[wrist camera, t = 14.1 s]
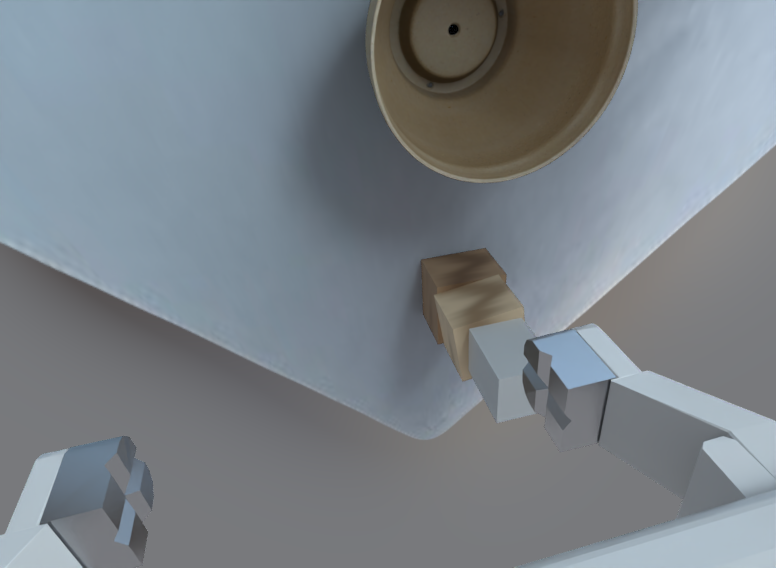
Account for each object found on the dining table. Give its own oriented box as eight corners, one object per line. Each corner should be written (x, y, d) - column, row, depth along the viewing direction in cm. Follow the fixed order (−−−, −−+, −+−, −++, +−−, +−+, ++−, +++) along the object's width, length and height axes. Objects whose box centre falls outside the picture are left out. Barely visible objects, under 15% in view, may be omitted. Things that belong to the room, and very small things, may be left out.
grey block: (521, 317, 42) (557, 366, 37) (518, 358, 45) (551, 409, 40) (468, 328, 42) (499, 380, 37) (468, 370, 44) (496, 423, 39)
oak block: (498, 274, 46) (523, 306, 42) (504, 325, 49) (527, 359, 45) (433, 295, 45) (452, 329, 41) (444, 345, 49) (462, 381, 45)
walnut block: (485, 247, 50) (506, 274, 46) (482, 301, 54) (502, 331, 49) (420, 259, 49) (436, 287, 45) (422, 313, 53) (437, 344, 49)
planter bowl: (559, 94, 43) (640, 132, 34) (377, 162, 43) (413, 218, 34) (537, -146, 34) (640, -179, 25) (306, -63, 34) (328, -67, 25)
